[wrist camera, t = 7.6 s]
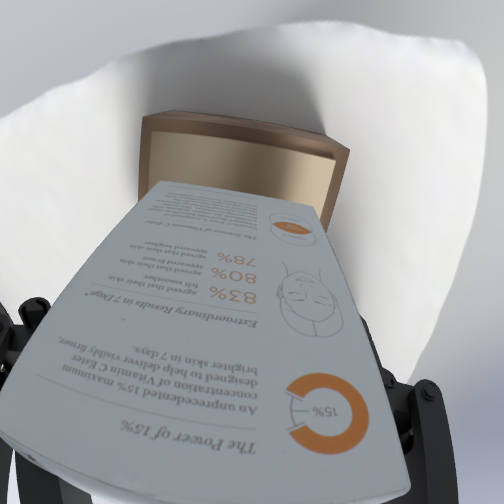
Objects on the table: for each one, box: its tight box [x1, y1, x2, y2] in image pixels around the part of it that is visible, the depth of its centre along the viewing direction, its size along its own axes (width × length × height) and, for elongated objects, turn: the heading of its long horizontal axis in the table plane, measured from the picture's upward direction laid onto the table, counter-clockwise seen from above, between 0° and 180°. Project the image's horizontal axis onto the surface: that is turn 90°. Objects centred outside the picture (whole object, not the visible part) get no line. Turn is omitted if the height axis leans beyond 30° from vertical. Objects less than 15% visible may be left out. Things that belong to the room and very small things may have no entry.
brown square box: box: [138, 111, 350, 233], centre depth 20 cm, size 12×12×6 cm
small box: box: [0, 181, 411, 504], centre depth 10 cm, size 8×6×13 cm
